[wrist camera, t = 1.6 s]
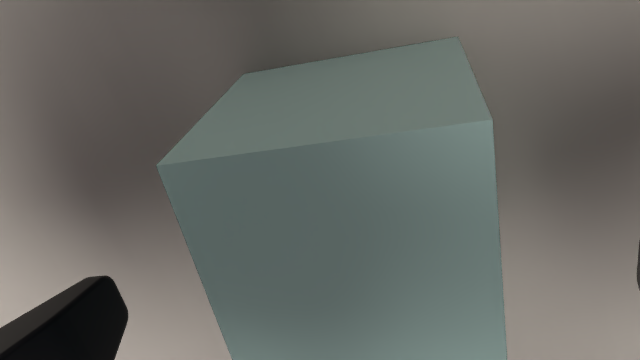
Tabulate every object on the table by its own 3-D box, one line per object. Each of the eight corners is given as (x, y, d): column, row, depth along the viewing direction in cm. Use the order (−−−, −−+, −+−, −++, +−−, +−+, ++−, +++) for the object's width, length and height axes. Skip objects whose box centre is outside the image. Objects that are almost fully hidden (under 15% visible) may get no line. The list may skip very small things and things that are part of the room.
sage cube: (474, 226, 13) (508, 382, 9) (292, 242, 14) (243, 388, 10) (457, 35, 11) (492, 119, 7) (244, 72, 12) (156, 165, 8)
